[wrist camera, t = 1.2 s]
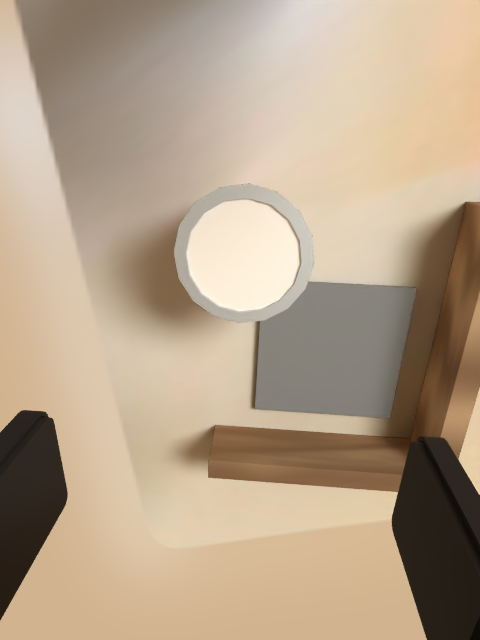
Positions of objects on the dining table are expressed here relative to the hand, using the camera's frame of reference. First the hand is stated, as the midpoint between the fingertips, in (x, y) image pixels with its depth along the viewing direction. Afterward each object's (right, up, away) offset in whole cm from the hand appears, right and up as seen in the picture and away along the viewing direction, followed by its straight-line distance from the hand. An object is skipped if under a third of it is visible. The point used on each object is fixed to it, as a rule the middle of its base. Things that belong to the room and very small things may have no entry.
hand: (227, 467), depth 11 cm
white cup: (+1, +10, +16) cm, 18 cm away
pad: (+7, +2, +18) cm, 19 cm away
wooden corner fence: (+7, +3, +18) cm, 19 cm away
